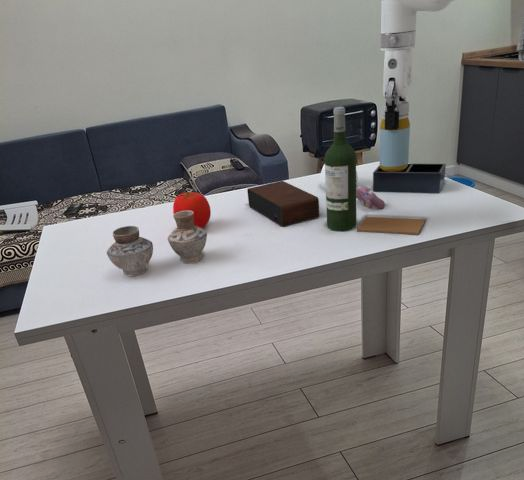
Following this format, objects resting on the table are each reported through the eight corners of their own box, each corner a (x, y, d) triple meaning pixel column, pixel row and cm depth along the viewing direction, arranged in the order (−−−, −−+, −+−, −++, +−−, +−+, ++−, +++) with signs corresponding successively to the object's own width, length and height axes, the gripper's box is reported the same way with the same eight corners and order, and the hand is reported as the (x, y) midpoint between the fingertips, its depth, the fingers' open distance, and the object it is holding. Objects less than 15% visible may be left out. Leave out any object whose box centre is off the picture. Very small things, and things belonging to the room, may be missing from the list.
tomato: (190, 220, 162) (184, 185, 157) (219, 224, 158) (213, 187, 152) (169, 233, 155) (161, 196, 149) (198, 237, 150) (192, 199, 144)
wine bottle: (323, 230, 145) (318, 111, 129) (332, 220, 151) (329, 105, 134) (351, 232, 142) (349, 110, 125) (360, 222, 147) (359, 104, 131)
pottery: (215, 262, 134) (208, 215, 127) (115, 285, 128) (102, 237, 122) (204, 247, 143) (197, 203, 137) (111, 268, 138) (98, 223, 131)
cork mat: (425, 221, 143) (425, 219, 143) (418, 235, 136) (418, 232, 135) (366, 218, 149) (366, 216, 149) (356, 231, 142) (356, 229, 142)
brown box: (319, 217, 153) (318, 197, 150) (282, 227, 150) (281, 206, 147) (282, 198, 172) (281, 180, 169) (249, 206, 168) (247, 187, 165)
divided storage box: (444, 183, 169) (445, 163, 166) (439, 193, 161) (440, 173, 158) (380, 181, 177) (381, 163, 173) (372, 191, 169) (373, 172, 166)
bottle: (390, 173, 131) (392, 107, 123) (374, 168, 137) (374, 104, 129) (413, 168, 133) (417, 102, 125) (396, 162, 139) (399, 99, 131)
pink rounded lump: (357, 207, 162) (347, 189, 158) (369, 198, 162) (360, 179, 158) (374, 216, 154) (365, 197, 150) (387, 206, 154) (378, 186, 150)
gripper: (407, 44, 112) (403, 133, 122) (422, 36, 125) (417, 118, 135) (371, 47, 115) (370, 134, 125) (389, 39, 128) (387, 118, 137)
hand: (395, 125), depth 129 cm, fingers closed on bottle, 7 cm apart
